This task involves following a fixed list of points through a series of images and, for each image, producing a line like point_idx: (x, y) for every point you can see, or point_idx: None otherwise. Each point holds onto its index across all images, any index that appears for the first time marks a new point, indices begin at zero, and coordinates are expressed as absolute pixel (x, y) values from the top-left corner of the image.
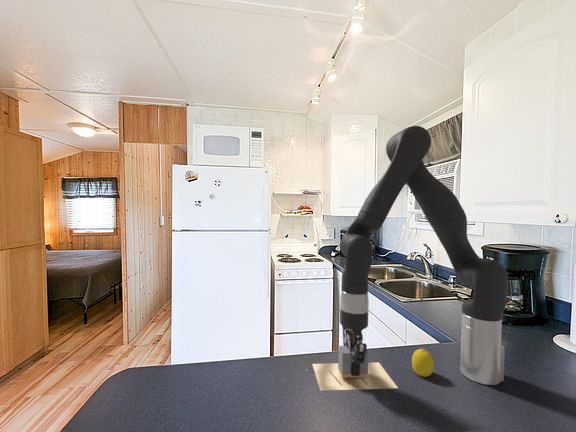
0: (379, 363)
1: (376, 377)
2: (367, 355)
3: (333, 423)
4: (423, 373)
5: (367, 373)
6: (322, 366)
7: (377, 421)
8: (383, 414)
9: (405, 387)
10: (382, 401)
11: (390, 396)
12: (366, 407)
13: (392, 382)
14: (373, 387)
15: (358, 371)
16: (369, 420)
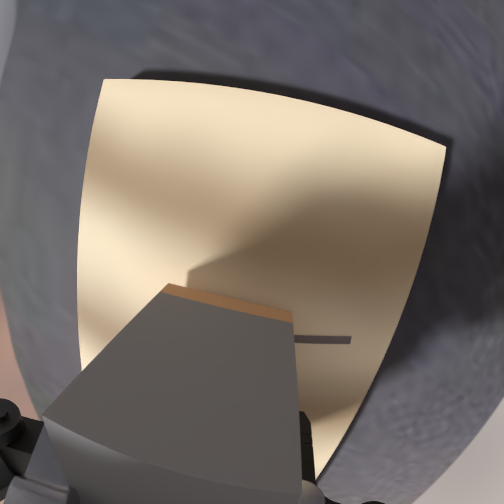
0: (118, 80)
1: (291, 220)
2: (295, 466)
3: (420, 486)
4: None
5: (293, 329)
6: None
7: (500, 377)
8: (497, 339)
9: (393, 59)
10: (452, 297)
11: (442, 222)
12: (439, 389)
13: (384, 134)
14: (387, 318)
15: (308, 437)
16: (482, 401)
